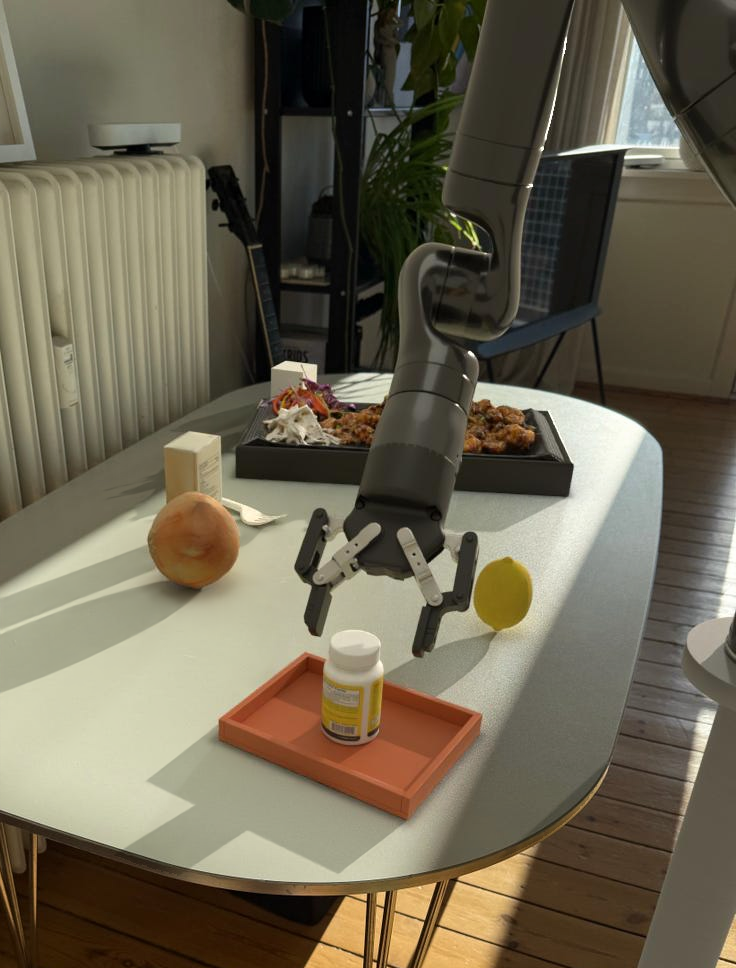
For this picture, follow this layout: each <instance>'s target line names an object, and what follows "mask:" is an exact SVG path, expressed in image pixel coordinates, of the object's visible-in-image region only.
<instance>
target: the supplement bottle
mask: <svg viewBox="0 0 736 968" xmlns="http://www.w3.org/2000/svg"><path fill="white" fill-rule="evenodd" d="M381 647H382V646H381V641H380V639H379V638H378V637H377V636H376V635H375V634H373V633H371V632H368V631H366V630H359V629H346V630H341V631H339V632H336V633H334V634H333V635H332V636H331V637H330V639H329V643H328V652H327V654H328V657H327V658H326V659H327V660H326V661H325V664H324V670H323V695H322V722H321V726H322V731H323V733H324V734H325V735H326V736H327V737H328V738H329V739H331V740H332V741H334V742H336V743H339V744H343V745H360V744H364V743H367V742H369V741H371V740H373V739H374V738H375V737H376V736H377V734H378V732H379V724H380V712H381V699H382V686H383V679H384V673H385V672H384V671H385V669H384V666H383V663H382V661H381Z"/></svg>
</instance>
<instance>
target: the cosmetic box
mask: <svg viewBox="0 0 736 968" xmlns="http://www.w3.org/2000/svg"><path fill="white" fill-rule="evenodd" d="M163 462H164V479H165V480H164V481H165V499H166V505H167V504H168V503H169V502H170V501H171V500H173V499H174V498H176V497H178V496H180V495H182V494H184V493H186V492H190V491H196V492H199V493H202V494H205V495H208V496H210V497H212V498H214V499H215V500H217V501H218V502H219V503H220V504H221V505H222V497H223V490H222V489H223V487H222V486H223V483H222V482H223V479H222V477H223V476H222V437H221V435H216V434H210V433H203V432H197V431H191V430H188V431H187V432H185V433H184V434H181V435H180V436H178V437H177V438H175V439H173V440H172V441H170V442H169V443H167V444H165V445H164V446H163ZM222 506H223V505H222Z"/></svg>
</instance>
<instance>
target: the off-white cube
mask: <svg viewBox="0 0 736 968" xmlns="http://www.w3.org/2000/svg"><path fill="white" fill-rule="evenodd" d="M301 364H302V366H303V369H304V371H305V373H304V371H303V369H302V367H301ZM270 371H271V372H270V398H272V397H274V396H276V395H280V394H281V393H282V391H280V390H279V388H281V389H283V390H286V389H288V388H290V384H291V385H293V386H298V387H301V388H302V389H307V388H306V387H305V385H304V382H303V381H301V380H300V379H299V378H306V376H307V378H308V379H310V380H312V381H314V382H316V383H317V379H318V378H317V377H318V364H314V363H305V362H297V361H290V360H285V361H283V362H281V363H279V364H277V365H275V366H273V367H271V368H270ZM305 374H306V376H305ZM288 381H289V382H290V384H289V382H288ZM299 383H301V386H299ZM294 388H295V390H296V391H298V388H297V387H294Z"/></svg>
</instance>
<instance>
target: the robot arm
mask: <svg viewBox="0 0 736 968" xmlns="http://www.w3.org/2000/svg"><path fill="white" fill-rule="evenodd" d="M575 2H576V0H487V1H486V5H485V10H484V15H483V20H482V24H481V29H480V33H479V38H478V41H477V45H476V49H475V53H474V56H473V57H474V58H473V61H472V66H471V70H470V73H469V78H468V82H467V86H466V90H465V94H464V98H463V101H462V105H461V109H460V114H459V117H458V122H457V125H456V128H455V129H456V131H455V132H454V133H455V134H454V137H453V142H452V146H451V149H450V154H449V158H448V162H447V163H448V164H447V167H446V171H445V176H444V179H443V184H442V189H441V203H442V205H443V207H444V208H445V210H447V212H449V213H451V214H452V215H454V216H456V217H458V218H460V219H461V220H462V219H463V220H465V221H467V222H469V223H471V224H473V225H475V226H477V227H478V228H479V229H481V230H482V231H483V232H484V233H485V234H486V235H487V237H488V240H489V241H490V246H491V249H490V250H491V251H490V252H483V251H479V250H474V249H470V248H465V247H460V246H454V245H451V244H446V243H442V242H436V241H435V242H433V241H431V242H425V243H422V244H420V245H418V246H417V247H416V248H415V249H413V250H412V251H411V252H410V253H409V255H407V257H406V259H405V260H404V262H403V264H402V266H401V269H400V272H399V275H398V281H397V282H398V283H397V311H398V325H399V326H398V327H399V328H398V329H399V332H398V333H399V334H398V336H399V337H398V352H397V357H396V363H395V367H394V371H393V375H392V379H391V382H390V387H389V389H388V392H387V395H388V397H387V400H386V404H385V407H384V410H383V412H382V414H381V416H380V419H379V421H378V423H377V426H376V429H375V433H374V436H373V440H372V443H371V447H370V451H369V454H368V458H367V462H366V465H365V469H364V472H363V476H362V480H361V483H360V485H359V487H358V491H357V495H356V498H355V502H354V505H353V508H352V510H351V512H350V513H349V514H348V515H347V516H346V517H342V516H338V515H335V514H334V515H333V514H328V512H327V510H326V509H325V508H324V507H317V508H316V509H314V510H313V511H312V514H311V517H310V520H309V523H308V526H307V529H306V532H305V534H304V536H303V539H302V543H301V545H300V549H299V550H298V554H297V556H296V559H295V562H294V565H293V569H294V572H295V573H296V574H297V576H298V577H299V579H300V580H301V582H302V583H303V584H307V585H309V586H310V587H311V588H310V592H309V595H308V599H307V603H306V606H305V610H304V614H303V622H304V624H305V625H306V627H307V631H308V633H309V634H310V636H313V637H318V638H321V637H322V635H323V633H324V629H325V625H326V621H327V618H328V614H329V612H330V611H329V610H330V606H331V603H332V601H333V600H332V599H333V595H332V594H331V593H332V592H333V591H335V589H337V588H338V587H339V586H341V584H342V585H343V583H345V582H346V581H350V580H351V579H353V578H354V577H356V575H357V574H359V573H361V571H363V572H365V573H366V575H368V576H372V577H373V576H374V577H383V576H384V577H385V576H386V577H389V578H391V579H392V580H396V581H401V582H404V581H405V580H407V579H410V578H412V577H413V579H414V581H415V582H416V584H417V587H418V589H419V591H420V593H421V594H422V596H423V598H424V601H425V602H426V603H425V605H422V606H421V609H420V614H419V617H418V622H417V626H416V630H415V634H414V638H413V640H412V641H413V642H412V644H411V645H412V646H411V654H412V656H413V658H418V659H424V656H425V653H431V652H433V650H434V649H435V647H436V642H437V638H438V635H439V630H440V627H441V622H442V619H443V617H444V616H445V615H446V614H448V613H451V612H458V613H465V612H467V611H468V610H469V609H470V606H471V601H472V594H473V590H474V583H475V578H476V572H477V566H478V560H479V554H480V543H479V537H478V534H477V533H476V532H474V531H470V530H469V531H466V532H465V533H463V535H461V534H451V533H445V524H446V520H447V516H448V513H449V508H450V504H451V500H452V496H453V492H454V490H453V489H454V485H455V481H456V477H457V473H458V472H459V470H460V466H461V463H462V458H461V457H462V453H463V449H464V443H465V433H466V426H467V421H468V417H469V413H470V409H471V405H472V401H474V397H475V393H476V390H477V389H476V388H477V386H478V381H479V374H480V364H479V360H478V358H477V357H476V355H475V354H474V353H473V351H472V350H470V349H469V348H468V347H466V346H465V345H464V344H462V343H460V342H458V341H456V340H455V339H453V338H451V337H449V336H447V335H452V336H455V337H456V336H457V337H463V338H464V339H469V340H475V341H480V342H492V341H494V340H496V339H498V338H500V337H501V336H503V335H504V334H505V333H506V332H507V331H508V330H509V328H510V327H511V326H512V324H513V323H514V321H515V319H516V318H517V315H518V311H519V307H520V301H521V287H522V285H521V284H522V281H521V279H522V277H521V275H522V242H523V241H522V240H523V232H524V224H525V217H526V211H527V207H528V203H529V199H530V195H531V190H532V187H533V183H534V180H535V178H536V174H537V170H538V168H539V164H540V161H541V160H540V159H541V156H542V154H543V150H544V146H545V142H546V140H547V136H548V131H549V127H550V124H551V120H552V116H553V111H554V107H555V102H556V98H557V93H558V88H559V82H560V77H561V72H562V67H563V66H562V65H563V60H564V54H565V50H566V43H567V38H568V33H569V28H570V25H571V19H572V15H573V9H574V6H575ZM620 3H621V5H622V8H623V9H624V12H625V14H626V17H627V19H628V22H629V26H630V28H631V30H632V33H633V35H634V38H635V41H636V43H637V46H638V49H639V51H640V54H641V56H642V59H643V61H644V63H645V66H646V68H647V71H648V73H649V76H650V77H651V80H652V81H653V84H654V86H655V88H656V90H657V92H658V94H659V97H660V98H661V100H662V102H663V104H664V106H665V108H666V110H667V112H668V113H669V115H670V117H671V119H673V122H674V124H675V125H676V127H677V129H678V131H679V132H680V134H681V135H682V137H683V139H684V141H685V142H686V144H687V145H688V147H689V148H690V151H691V152H692V153H693V155H694V157H695V158H696V160H697V162H698V163H699V164H700V166H701V168H702V169H703V170H704V172H705V173H706V174H707V176H708V177H709V179H710V180H711V181H712V184H714V186H715V188H717V190H718V191H719V192H720V194H721V195H722V196H723V198H724V199H725V200H726V201H727V203H728V204H729V205H730V206H731V207H732V208H733V210H734V211H735V212H736V0H620ZM445 334H447V335H445ZM340 533H343V534H344V536H345V538H346V540H347V543H346V544H345V545H344V546H342V547H341V548H340V549H338V550H337V551H336V552H335V553H334V554H332V556H331V559H330V560H328V562H326V563H325V564H324V565H323V566H321V567H320V568H319V566H320V563H321V560H322V558H323V554H324V553H325V549H326V546H327V543H330V542H333V541H334V540H335V539H336V536H338V535H339V534H340ZM445 550H448V551H449V552H450V557H451V561H452V562H453V563H455V564H457V565H456V570H455V576H454V581H453V587H452V590H451V591H443V592H441V589H440V588H439V586H438V584H437V582H436V580H435V577H434V575H433V573H432V570H431V568H430V566H429V564H430V563H431V562H432V561H434V560H435V559H436V558H437V557H438V556H440V554H442V553H443V551H445ZM732 617H733V621H732V623H731V625H730V629H729V634H728V635H727V637H726V640H725V643H724V650H725V653H726V654H727V656H728V657H729V658H730V659H731V660H732V661H733V662H734V663H735V664H736V610H735V611H734V614H733V616H732Z"/></svg>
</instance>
